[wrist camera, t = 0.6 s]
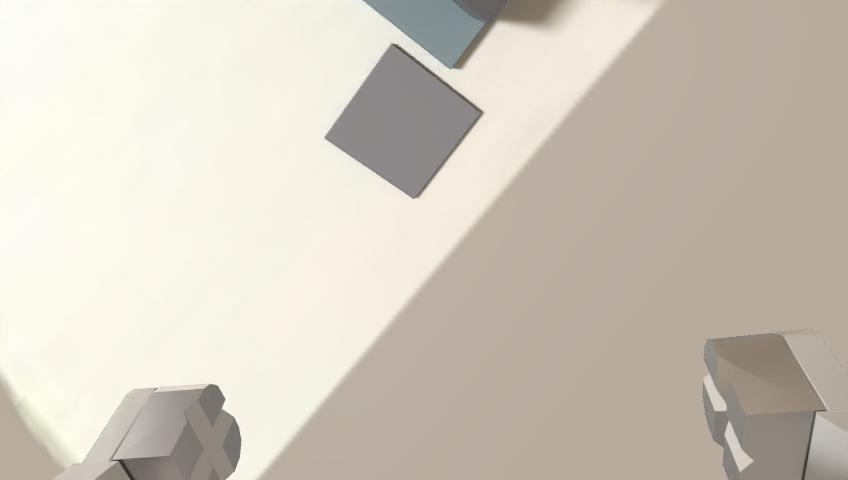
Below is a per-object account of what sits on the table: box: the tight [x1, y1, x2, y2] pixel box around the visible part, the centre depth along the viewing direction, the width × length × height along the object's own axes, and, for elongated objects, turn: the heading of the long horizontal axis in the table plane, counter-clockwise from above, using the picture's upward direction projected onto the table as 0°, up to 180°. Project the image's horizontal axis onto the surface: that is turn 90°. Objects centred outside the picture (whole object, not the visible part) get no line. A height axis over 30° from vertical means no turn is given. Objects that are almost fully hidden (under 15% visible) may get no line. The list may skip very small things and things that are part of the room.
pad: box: [325, 44, 480, 199], centre depth 52 cm, size 9×9×1 cm
